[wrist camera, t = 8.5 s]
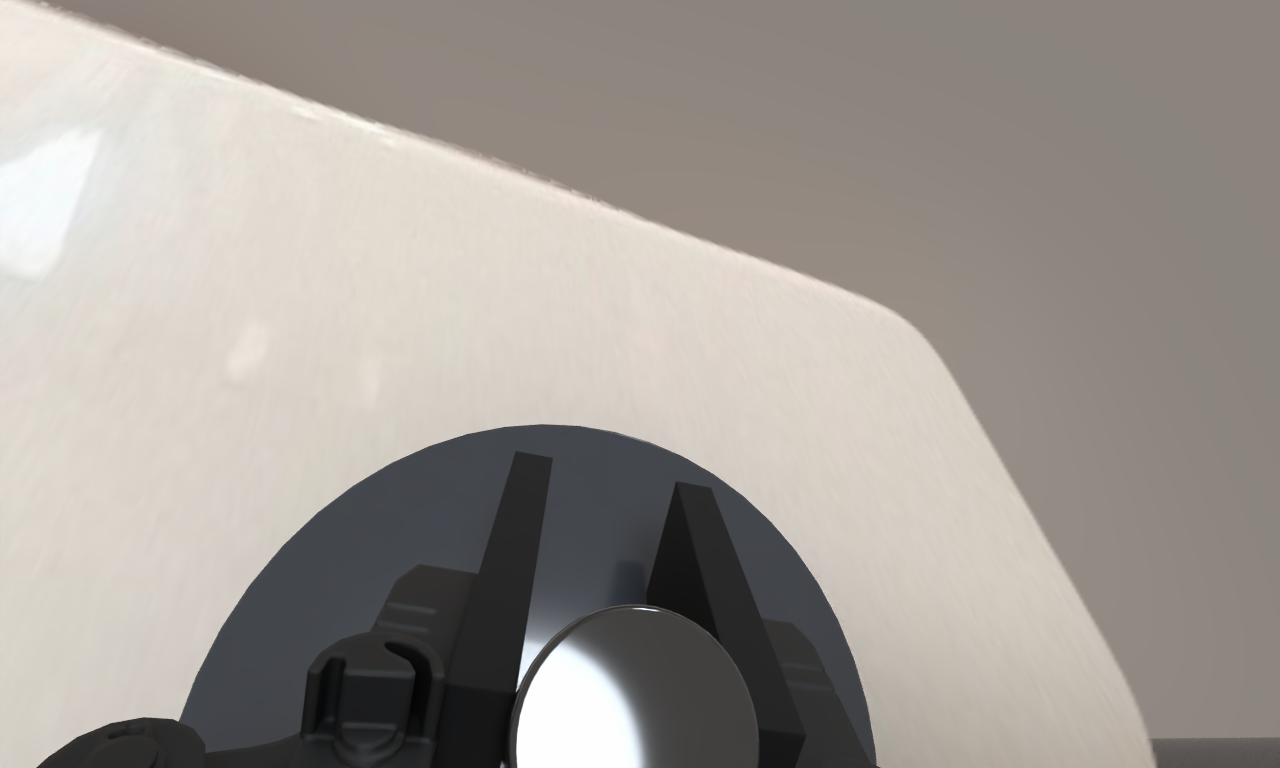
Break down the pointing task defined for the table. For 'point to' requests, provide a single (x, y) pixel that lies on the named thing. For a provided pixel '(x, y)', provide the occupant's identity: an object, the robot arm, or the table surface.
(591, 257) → the table surface
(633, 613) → the lid
